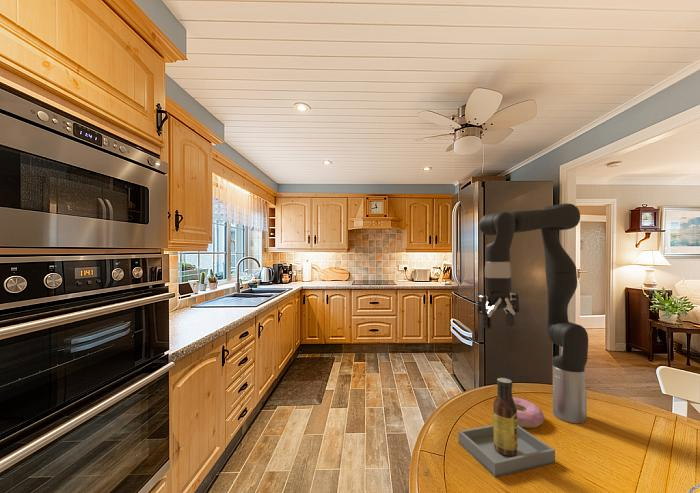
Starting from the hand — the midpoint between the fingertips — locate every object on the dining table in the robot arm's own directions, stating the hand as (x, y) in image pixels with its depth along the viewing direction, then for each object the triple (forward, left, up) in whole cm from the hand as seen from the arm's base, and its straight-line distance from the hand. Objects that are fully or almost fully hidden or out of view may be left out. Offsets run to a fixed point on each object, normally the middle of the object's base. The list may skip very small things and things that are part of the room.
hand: (498, 327), depth 97 cm
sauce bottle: (+4, +6, -34) cm, 35 cm away
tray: (+4, +6, -34) cm, 35 cm away
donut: (-15, -8, -35) cm, 38 cm away
